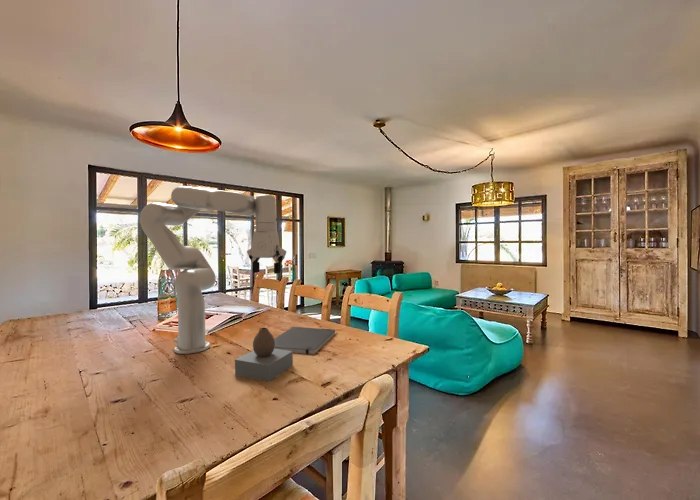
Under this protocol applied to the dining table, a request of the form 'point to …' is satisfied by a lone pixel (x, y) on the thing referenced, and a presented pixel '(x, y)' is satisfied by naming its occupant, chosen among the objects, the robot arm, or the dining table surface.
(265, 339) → the vase
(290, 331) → the notebook
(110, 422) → the dining table surface
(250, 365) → the slate block
